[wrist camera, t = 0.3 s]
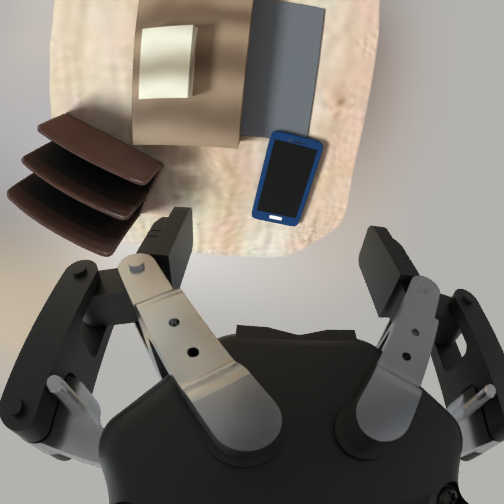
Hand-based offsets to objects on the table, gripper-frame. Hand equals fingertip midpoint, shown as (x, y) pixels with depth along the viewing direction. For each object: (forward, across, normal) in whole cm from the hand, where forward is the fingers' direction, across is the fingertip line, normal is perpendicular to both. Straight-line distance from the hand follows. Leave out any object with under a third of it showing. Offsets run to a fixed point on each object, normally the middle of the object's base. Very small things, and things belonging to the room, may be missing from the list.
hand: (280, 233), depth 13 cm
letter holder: (+29, +25, +7) cm, 39 cm away
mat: (+28, -1, -8) cm, 29 cm away
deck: (+28, +10, -8) cm, 31 cm away
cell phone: (+28, -4, +8) cm, 30 cm away
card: (+23, +12, -8) cm, 27 cm away
